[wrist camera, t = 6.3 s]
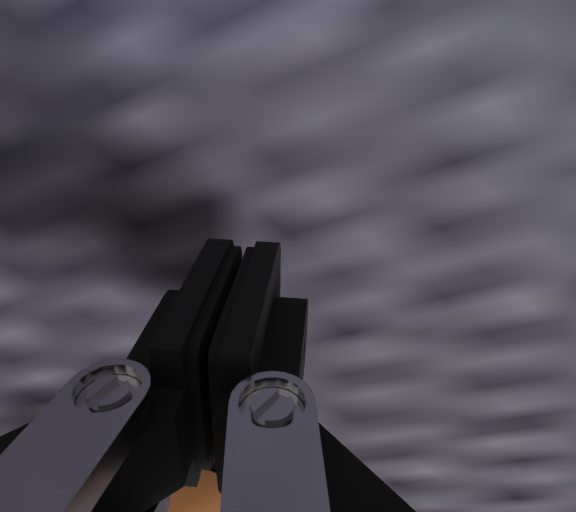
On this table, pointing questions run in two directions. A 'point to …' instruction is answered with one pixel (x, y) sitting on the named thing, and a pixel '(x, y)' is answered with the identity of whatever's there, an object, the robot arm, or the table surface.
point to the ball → (198, 496)
